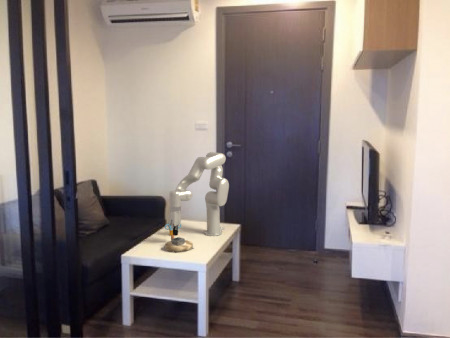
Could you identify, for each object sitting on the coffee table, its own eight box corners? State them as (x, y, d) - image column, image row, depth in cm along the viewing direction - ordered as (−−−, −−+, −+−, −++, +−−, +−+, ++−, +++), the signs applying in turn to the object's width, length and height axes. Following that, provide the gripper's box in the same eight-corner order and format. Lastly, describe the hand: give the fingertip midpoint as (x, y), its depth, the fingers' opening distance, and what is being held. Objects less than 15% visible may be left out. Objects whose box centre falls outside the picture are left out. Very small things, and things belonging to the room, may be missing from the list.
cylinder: (177, 237, 308) (177, 217, 306) (163, 236, 310) (163, 216, 308) (182, 232, 320) (182, 213, 318) (169, 232, 322) (168, 212, 320)
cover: (178, 242, 286) (178, 236, 286) (184, 243, 282) (184, 238, 282) (171, 244, 282) (171, 238, 282) (177, 245, 278) (177, 240, 277)
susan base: (182, 243, 293) (182, 243, 293) (193, 248, 282) (193, 248, 282) (164, 247, 284) (164, 247, 284) (175, 253, 273) (175, 252, 273)
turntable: (183, 241, 295) (182, 232, 294) (198, 247, 281) (197, 238, 280) (160, 246, 284) (159, 237, 283) (174, 253, 270) (174, 243, 269)
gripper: (175, 206, 301) (175, 232, 303) (165, 210, 287) (165, 237, 289) (184, 207, 298) (184, 233, 300) (175, 211, 284) (175, 238, 286)
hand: (175, 235), depth 294 cm, fingers closed
